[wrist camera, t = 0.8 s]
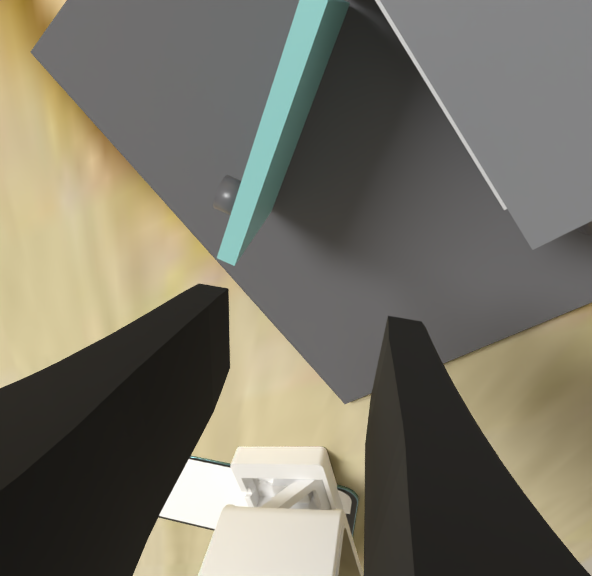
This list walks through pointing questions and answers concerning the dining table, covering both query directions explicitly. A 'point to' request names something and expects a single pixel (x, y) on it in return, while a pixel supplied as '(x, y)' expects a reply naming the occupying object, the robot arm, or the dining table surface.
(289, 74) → the side door
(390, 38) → the mat
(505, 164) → the housing
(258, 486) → the security camera
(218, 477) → the smartphone
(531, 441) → the dining table surface
